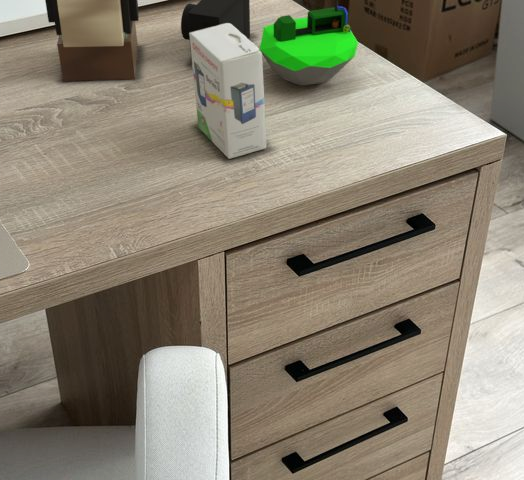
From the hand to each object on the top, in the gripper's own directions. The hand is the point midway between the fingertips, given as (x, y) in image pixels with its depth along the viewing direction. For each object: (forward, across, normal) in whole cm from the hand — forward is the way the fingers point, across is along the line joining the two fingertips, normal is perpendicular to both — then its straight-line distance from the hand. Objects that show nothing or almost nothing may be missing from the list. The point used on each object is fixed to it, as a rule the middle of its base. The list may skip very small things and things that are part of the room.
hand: (94, 26), depth 89 cm
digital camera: (+18, -12, -32) cm, 39 cm away
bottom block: (+18, +4, -29) cm, 35 cm away
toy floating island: (+18, -22, -24) cm, 37 cm away
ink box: (+18, -13, -9) cm, 24 cm away
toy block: (+1, 0, 0) cm, 1 cm away
